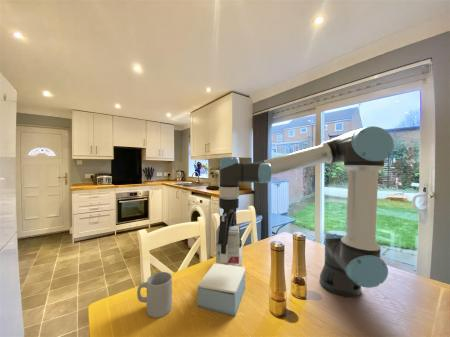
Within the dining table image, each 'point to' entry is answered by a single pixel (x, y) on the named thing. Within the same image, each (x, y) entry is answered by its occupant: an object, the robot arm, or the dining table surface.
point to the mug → (157, 294)
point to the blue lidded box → (221, 299)
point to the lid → (223, 278)
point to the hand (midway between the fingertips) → (228, 255)
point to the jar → (239, 255)
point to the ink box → (229, 245)
